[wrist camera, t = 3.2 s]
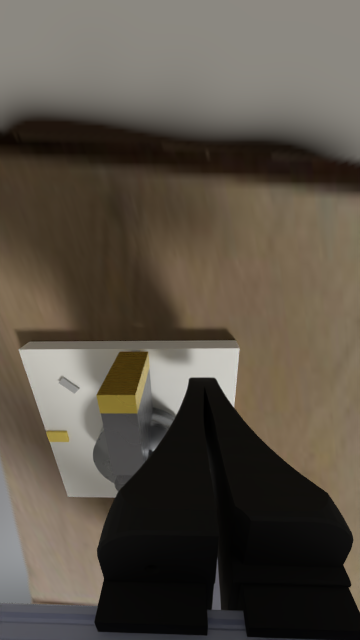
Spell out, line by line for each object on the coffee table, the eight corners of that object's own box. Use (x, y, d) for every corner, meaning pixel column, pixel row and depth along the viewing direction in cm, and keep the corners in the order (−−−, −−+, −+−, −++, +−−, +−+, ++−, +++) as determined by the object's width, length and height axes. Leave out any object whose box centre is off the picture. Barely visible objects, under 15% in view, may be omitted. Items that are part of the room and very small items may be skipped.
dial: (188, 469, 17) (188, 532, 13) (107, 468, 17) (87, 530, 13) (187, 349, 13) (187, 395, 9) (82, 350, 13) (45, 394, 10)
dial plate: (235, 340, 14) (240, 349, 13) (223, 486, 19) (226, 501, 18) (29, 341, 14) (16, 350, 13) (73, 484, 20) (67, 498, 19)
